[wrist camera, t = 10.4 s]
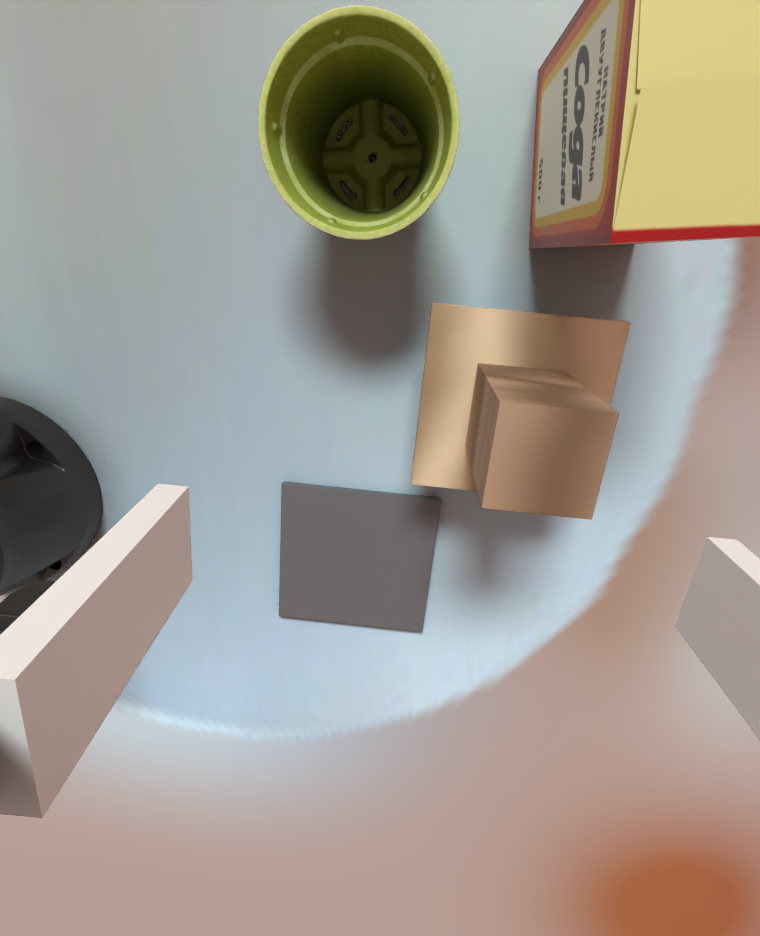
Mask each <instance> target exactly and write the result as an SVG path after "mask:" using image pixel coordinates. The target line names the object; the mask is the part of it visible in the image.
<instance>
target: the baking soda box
mask: <svg viewBox="0 0 760 936" xmlns="http://www.w3.org/2000/svg"><path fill="white" fill-rule="evenodd" d="M744 237H760V0H584V1H583V3H582V4H581V6H580V7H579V9H578V10H577V12H576V13H575V15H574V17H573V18H572V20H571V21H570V23H569V24H568V26H567V27H566V29H565V30H564V32H563V33H562V35H561V36H560V38H559V40H558V41H557V43H556V44H555V46H554V47H553V49H552V50H551V52H550V53H549V55H548V56H547V58H546V59H545V61H544V63H543V64H542V66H541V67H540V69H539V70H538V87H537V106H536V125H535V144H534V163H533V183H532V202H531V221H530V240H529V249H535V248H556V247H578V246H599V245H620V244H641V243H658V242H675V241H692V240H710V239H727V238H744Z"/></svg>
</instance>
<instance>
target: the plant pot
mask: <svg viewBox="0 0 760 936" xmlns="http://www.w3.org/2000/svg"><path fill="white" fill-rule="evenodd" d="M389 117H394V118H396V119H398V120H399V121H401V122H402V123H403V125H404V126H405V127H406V129H407V134H406V135H403V134H402V133H401V131H400V130H399V129H398V128H397V126H396V125H395V124H393V123H392V121H390V120H389ZM347 120H352V125H351V126H350V127H349V128H348V129H347V130H346V131H345V133H344V134H343V136H342V137H341V140H340V141H337V138H336V135H337V134H338V132H339V131H340V130H341V127H342V125H343V124H344V123H345V122H346V121H347ZM459 126H460V118H459V104H458V98H457V92H456V88H455V85H454V82H453V79H452V76H451V74H450V71H449V69H448V67H447V65H446V63H445V61H444V59H443V58H442V56H441V54H440V53H439V51H438V49H437V48H436V47H435V45H434V44H433V43H432V41H431V40H430V39H429V38H428V37H427V36H426V35H425V34H424V33H423V32H422V31H421V30H419V29H418V28H417V27H416V26H415V25H414V24H412V23H411V22H410V21H408V20H406V19H405V18H403V17H401V16H399V15H397V14H394V13H392V12H390V11H387V10H383V9H380V8H377V7H371V6H361V5H359V6H346V7H340V8H336V9H333V10H329V11H327V12H325V13H323V14H320V15H318V16H317V17H315V18H313V19H311V20H310V21H308V22H306V23H305V24H304V25H302V26H301V27H300V28H298V29H297V30H296V31H295V32H294V33H293V34H292V35H291V36H290V37H289V38H288V40H287V41H286V42H285V43H284V45H283V46H282V48H281V49H280V51H279V52H278V54H277V55H276V57H275V59H274V60H273V62H272V64H271V66H270V68H269V71H268V73H267V76H266V79H265V82H264V85H263V88H262V92H261V97H260V102H259V111H258V132H259V142H260V148H261V153H262V157H263V161H264V164H265V167H266V170H267V172H268V174H269V177H270V179H271V181H272V183H273V185H274V187H275V188H276V190H277V191H278V193H279V194H280V196H281V197H282V199H283V200H284V201H285V202H286V204H287V205H288V206H289V207H290V208H291V209H292V210H293V211H294V212H295V213H296V214H297V215H298V216H300V217H301V218H302V219H303V220H304V221H306V222H307V223H309V224H310V225H312V226H314V227H315V228H317V229H319V230H321V231H323V232H326V233H328V234H331V235H334V236H337V237H341V238H346V239H354V240H369V239H376V238H381V237H384V236H388V235H391V234H393V233H396V232H398V231H400V230H402V229H404V228H405V227H407V226H409V225H410V224H412V223H413V222H414V221H416V220H417V219H418V218H419V217H420V216H421V215H422V214H424V213H425V212H426V211H427V209H428V208H429V207H430V206H431V205H432V204H433V202H434V201H435V200H436V198H437V197H438V195H439V194H440V192H441V191H442V189H443V187H444V185H445V183H446V181H447V179H448V177H449V175H450V172H451V169H452V167H453V163H454V160H455V156H456V152H457V147H458V141H459ZM371 153H375V154H376V155H377V159H376V161H375V162H373V163H371V162H370V161H369V159H368V157H369V155H370V154H371ZM406 176H408V177H409V182H408V184H407V185H406V187H405V188H404V190H403V191H402V192H401V193H400V194H399V195H396V196H395V195H393V192H394V191H395V190H396V189H397V188H398V187H399V186H400V185H401V183H402V182H403V181H404V179H405V177H406ZM341 181H343V182H344V183H345V184H346V185H347V187H348V188H349V189H350V190H351V191H352V192H353V193H355V194H356V195H357V199H351V198H350V197H349V196H348V195H347V194H346V193H345V192H344V191H343V190H342V188H341V186H340V182H341Z"/></svg>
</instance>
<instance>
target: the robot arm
mask: <svg viewBox="0 0 760 936" xmlns="http://www.w3.org/2000/svg"><path fill="white" fill-rule="evenodd" d="M100 518H101V496H100V490H99V486H98V483H97V479H96V477H95V474H94V472H93V469H92V467H91V465H90V463H89V461H88V460H87V458H86V456H85V455H84V453H83V452H82V450H81V449H80V448H79V446H78V445H77V444H76V443H75V441H74V440H73V439H72V438H71V437H70V436H69V435H68V434H67V433H66V432H65V431H64V430H63V429H62V428H61V427H60V426H59V425H57V424H56V423H55V422H54V421H52V420H51V419H50V418H48V417H47V416H45V415H44V414H42V413H40V412H39V411H37V410H35V409H33V408H31V407H29V406H27V405H25V404H22V403H20V402H17V401H14V400H11V399H8V398H3V397H0V596H1V595H4V594H6V593H9V592H12V591H15V590H17V589H20V588H22V589H20V590H18V591H16V592H14V593H12V594H10V595H9V596H8V597H7V598H6V599H4V600H3V601H2V602H1V603H0V814H6V815H16V816H27V817H38V818H43V816H44V814H45V813H46V811H47V810H48V808H49V806H50V805H51V803H52V802H53V800H54V799H55V797H56V795H57V794H58V792H59V791H60V789H61V787H62V786H63V784H64V783H65V781H66V780H67V778H68V776H69V775H70V773H71V772H72V770H73V768H74V767H75V765H76V764H77V762H78V761H79V759H80V757H81V756H82V754H83V753H84V751H85V749H86V748H87V746H88V745H89V743H90V742H91V740H92V738H93V737H94V735H95V734H96V732H97V730H98V729H99V727H100V726H101V724H102V722H103V721H104V719H105V718H106V716H107V715H108V713H109V711H110V710H111V708H112V707H113V705H114V703H115V702H116V700H117V699H118V697H119V696H120V694H121V692H122V691H123V689H124V688H125V686H126V684H127V683H128V681H129V680H130V678H131V677H132V675H133V673H134V672H135V670H136V669H137V667H138V665H139V664H140V662H141V661H142V659H143V657H144V656H145V654H146V653H147V651H148V650H149V648H150V646H151V645H152V643H153V642H154V640H155V638H156V637H157V635H158V634H159V632H160V631H161V629H162V627H163V626H164V624H165V623H166V621H167V619H168V618H169V616H170V615H171V613H172V612H173V610H174V608H175V607H176V605H177V604H178V602H179V600H180V599H181V597H182V596H183V594H184V592H185V591H186V589H187V588H188V586H189V585H190V583H191V581H192V559H191V535H190V511H189V487H186V486H176V485H165V484H157V485H156V486H155V487H154V488H153V489H152V490H151V491H150V492H149V493H148V494H147V495H146V496H145V497H144V498H143V499H142V500H141V501H140V502H139V503H137V504H136V505H135V506H134V507H133V508H132V509H131V510H130V511H129V512H128V513H127V514H126V515H125V516H124V517H123V518H122V519H121V520H120V521H119V522H118V523H117V524H116V525H115V526H113V527H112V528H111V529H110V530H109V531H108V532H107V533H106V534H105V535H104V536H103V537H102V538H101V539H100V540H99V541H98V542H97V543H96V544H95V545H94V546H93V547H92V548H90V549H89V550H88V551H87V552H86V553H85V554H84V555H83V556H82V557H81V558H80V559H79V560H78V561H77V562H76V563H75V564H74V565H73V566H72V567H71V568H70V569H69V570H67V571H66V572H65V573H64V574H63V575H62V576H61V577H60V578H59V579H58V580H57V581H56V582H55V581H45V580H44V579H47V578H49V577H51V576H53V575H55V574H57V573H58V572H60V571H62V570H63V569H64V568H66V567H67V566H68V565H69V564H70V563H72V562H73V561H74V560H75V559H76V558H77V557H78V556H79V555H81V554H82V553H83V552H84V551H85V550H86V549H87V548H88V546H89V545H90V544H91V542H92V540H93V539H94V537H95V535H96V533H97V530H98V527H99V523H100ZM675 627H676V628H677V630H678V631H679V632H680V634H681V635H682V636H683V638H684V639H685V640H686V642H687V643H688V644H689V646H690V647H691V649H692V650H693V651H694V652H695V654H696V655H697V657H698V658H699V659H700V660H701V662H702V663H703V664H704V666H705V667H706V669H707V670H708V671H709V673H710V674H711V675H712V677H713V678H714V679H715V681H716V682H717V683H718V685H719V686H720V687H721V689H722V690H723V691H724V693H725V694H726V695H727V697H728V698H729V699H730V701H731V702H732V703H733V705H734V706H735V707H736V709H737V710H738V711H739V713H740V714H741V716H742V717H743V718H744V720H745V721H746V722H747V724H748V725H749V726H750V728H751V729H752V730H753V732H754V733H755V734H756V736H757V737H758V738H759V740H760V559H759V558H758V557H756V556H755V555H754V554H753V553H752V552H751V551H750V550H748V549H747V548H746V547H745V546H744V545H742V544H741V543H740V542H739V541H738V540H732V539H722V538H712V537H707V538H706V541H705V544H704V547H703V549H702V552H701V555H700V558H699V561H698V563H697V566H696V569H695V572H694V575H693V578H692V580H691V583H690V586H689V589H688V592H687V594H686V597H685V600H684V603H683V605H682V608H681V611H680V614H679V617H678V619H677V622H676V625H675Z"/></svg>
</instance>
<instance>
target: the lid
mask: <svg viewBox="0 0 760 936" xmlns="http://www.w3.org/2000/svg"><path fill="white" fill-rule="evenodd" d="M629 327H630V323H629V322H626V321H619V320H609V319H598V318H588V317H577V316H567V315H556V314H546V313H535V312H525V311H514V310H504V309H494V308H483V307H473V306H462V305H452V304H441V303H432V306H431V314H430V323H429V331H428V340H427V349H426V357H425V366H424V374H423V383H422V391H421V400H420V408H419V417H418V425H417V434H416V442H415V451H414V459H413V468H412V477H411V484H414V485H423V486H433V487H442V488H452V489H461V490H471V491H477V492H478V496H479V500H480V503H481V507H482V508H487V509H496V510H506V511H515V512H525V513H534V514H544V515H553V516H563V517H572V518H582V519H591V520H592V516H593V512H594V509H595V505H596V501H597V497H598V493H599V489H600V485H601V481H602V478H603V474H604V470H605V466H606V462H607V458H608V454H609V450H610V447H611V443H612V439H613V435H614V431H615V427H616V423H617V419H618V416H619V413H618V412H616V411H615V410H614V409H612V408H611V407H610V403H611V399H612V395H613V391H614V387H615V383H616V379H617V375H618V371H619V367H620V363H621V359H622V355H623V351H624V347H625V343H626V339H627V335H628V331H629Z"/></svg>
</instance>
